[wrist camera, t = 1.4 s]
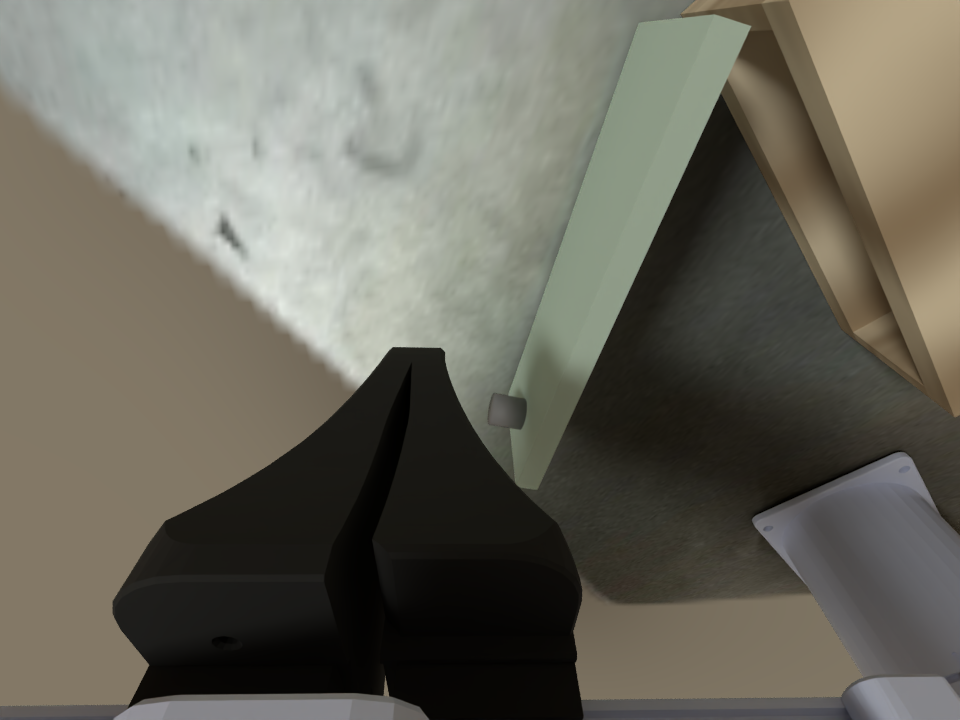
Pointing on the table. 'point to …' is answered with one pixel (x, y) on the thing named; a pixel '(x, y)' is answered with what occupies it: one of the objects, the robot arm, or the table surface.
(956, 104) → the cabinet
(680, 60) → the cabinet door
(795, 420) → the table surface
